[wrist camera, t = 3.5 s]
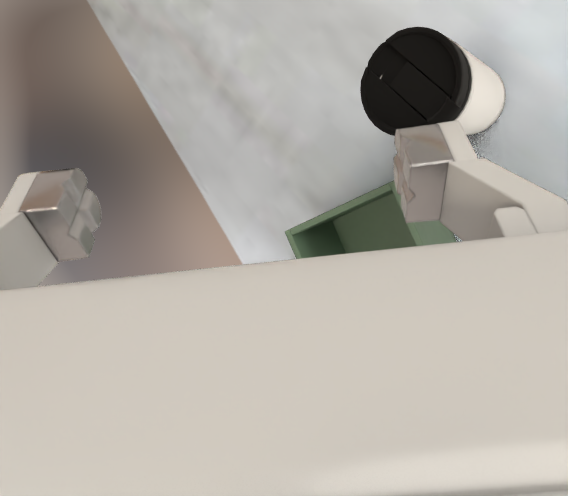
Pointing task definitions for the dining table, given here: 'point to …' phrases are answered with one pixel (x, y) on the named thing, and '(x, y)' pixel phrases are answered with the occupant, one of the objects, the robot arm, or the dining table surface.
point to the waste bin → (365, 228)
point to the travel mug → (429, 84)
